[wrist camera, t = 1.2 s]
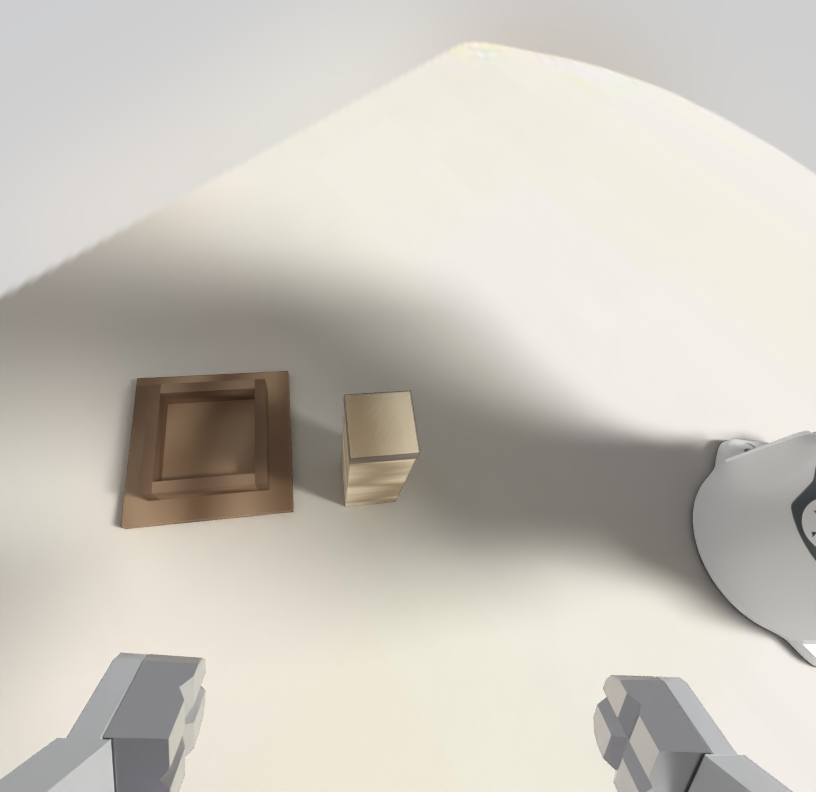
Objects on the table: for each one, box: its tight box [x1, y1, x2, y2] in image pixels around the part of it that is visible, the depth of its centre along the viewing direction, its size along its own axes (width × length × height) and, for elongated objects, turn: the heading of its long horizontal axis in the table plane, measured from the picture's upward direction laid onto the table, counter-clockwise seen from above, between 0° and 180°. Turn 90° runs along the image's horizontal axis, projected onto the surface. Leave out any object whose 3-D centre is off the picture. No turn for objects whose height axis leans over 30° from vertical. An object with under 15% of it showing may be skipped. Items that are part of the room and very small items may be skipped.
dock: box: [121, 371, 293, 529], centre depth 38 cm, size 12×12×3 cm
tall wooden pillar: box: [341, 391, 420, 507], centre depth 34 cm, size 4×4×12 cm
